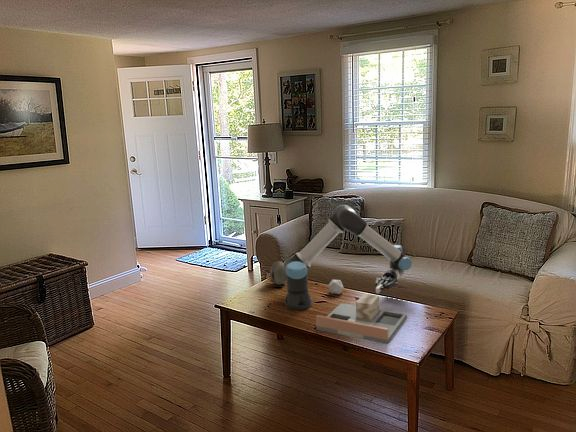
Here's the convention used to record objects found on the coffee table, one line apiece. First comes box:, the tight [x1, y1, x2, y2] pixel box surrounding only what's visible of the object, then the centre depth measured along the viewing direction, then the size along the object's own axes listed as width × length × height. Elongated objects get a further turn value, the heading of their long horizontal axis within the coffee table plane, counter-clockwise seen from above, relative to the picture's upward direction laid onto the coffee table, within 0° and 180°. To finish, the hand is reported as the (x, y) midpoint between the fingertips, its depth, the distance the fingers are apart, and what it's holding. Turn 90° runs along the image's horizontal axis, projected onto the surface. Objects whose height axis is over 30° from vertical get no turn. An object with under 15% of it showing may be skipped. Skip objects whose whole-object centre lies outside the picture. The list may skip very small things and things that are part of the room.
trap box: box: [315, 302, 408, 345], centre depth 228 cm, size 36×30×7 cm
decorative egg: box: [269, 260, 287, 286], centre depth 288 cm, size 12×12×15 cm
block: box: [355, 293, 380, 319], centre depth 234 cm, size 8×12×8 cm, turn 149°
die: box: [327, 279, 344, 295], centre depth 269 cm, size 8×9×10 cm
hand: (377, 290), depth 244 cm, fingers closed
